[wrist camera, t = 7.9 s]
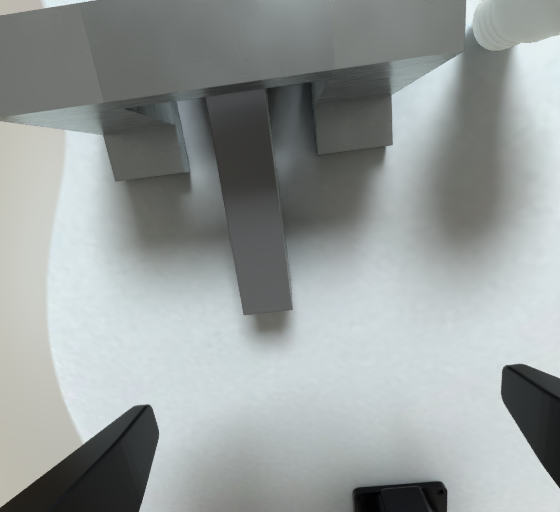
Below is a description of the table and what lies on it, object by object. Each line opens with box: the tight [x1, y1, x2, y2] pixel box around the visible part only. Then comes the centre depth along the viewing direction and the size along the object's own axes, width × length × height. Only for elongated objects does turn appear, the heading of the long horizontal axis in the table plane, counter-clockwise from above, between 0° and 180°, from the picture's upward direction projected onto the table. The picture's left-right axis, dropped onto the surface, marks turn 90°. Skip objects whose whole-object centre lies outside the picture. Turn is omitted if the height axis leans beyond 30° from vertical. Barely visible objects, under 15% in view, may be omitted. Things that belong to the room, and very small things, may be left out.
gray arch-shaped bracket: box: [0, 0, 466, 181], centre depth 13 cm, size 7×14×8 cm, turn 97°
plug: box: [206, 88, 292, 315], centre depth 15 cm, size 16×4×5 cm, turn 7°
